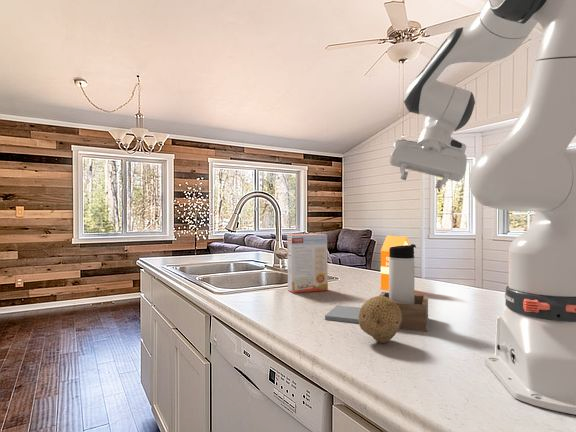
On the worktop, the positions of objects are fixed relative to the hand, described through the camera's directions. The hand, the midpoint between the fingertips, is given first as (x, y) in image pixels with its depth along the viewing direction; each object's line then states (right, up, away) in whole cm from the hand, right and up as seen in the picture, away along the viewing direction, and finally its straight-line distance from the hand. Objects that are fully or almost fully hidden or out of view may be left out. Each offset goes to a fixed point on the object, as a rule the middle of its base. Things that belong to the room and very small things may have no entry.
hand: (420, 182), depth 97 cm
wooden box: (-7, -36, -6) cm, 37 cm away
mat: (-19, -36, 0) cm, 41 cm away
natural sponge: (-17, -37, -21) cm, 45 cm away
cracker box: (-29, -37, +33) cm, 58 cm away
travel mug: (-7, -37, -6) cm, 38 cm away
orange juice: (+4, -37, +35) cm, 51 cm away
